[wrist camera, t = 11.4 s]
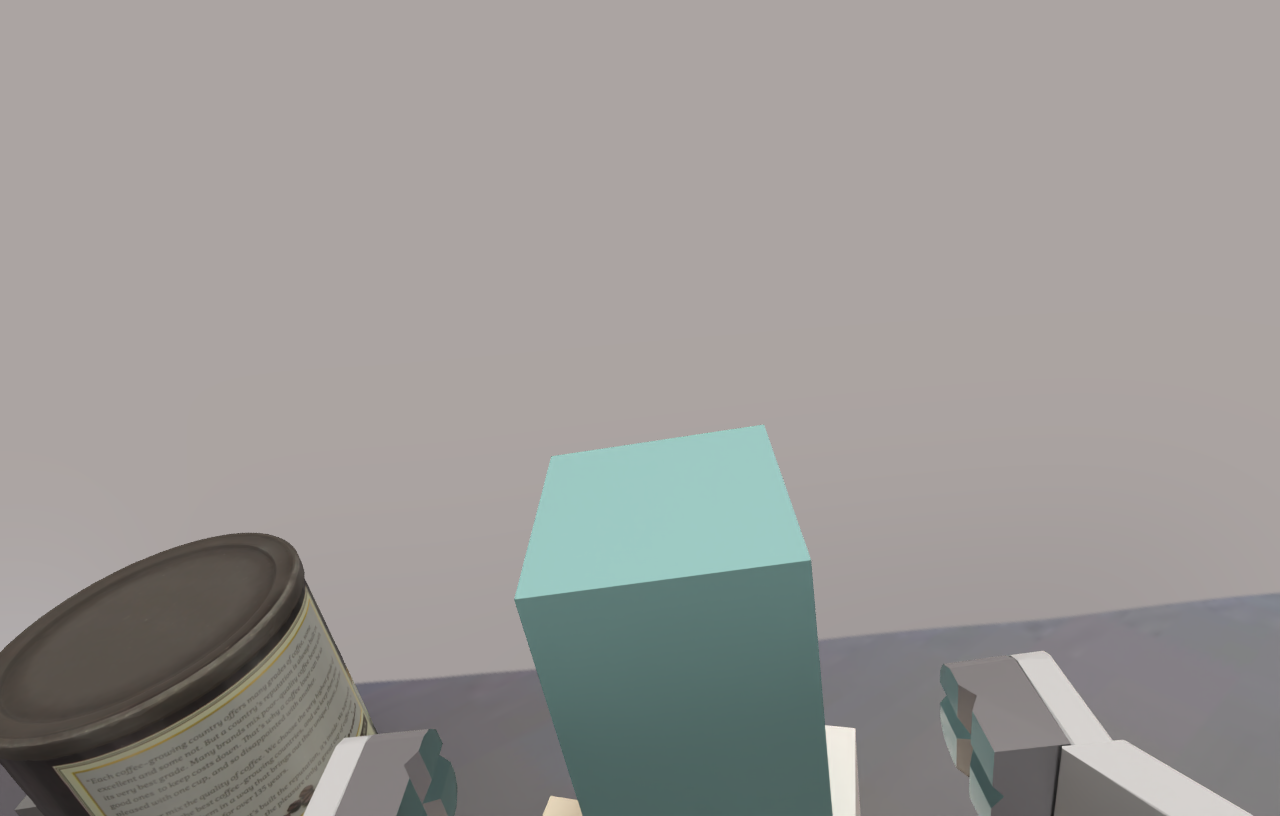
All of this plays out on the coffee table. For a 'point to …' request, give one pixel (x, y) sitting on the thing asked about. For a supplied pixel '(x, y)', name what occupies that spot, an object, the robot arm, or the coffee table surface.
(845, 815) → the white block
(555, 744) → the coffee table surface
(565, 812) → the birch board
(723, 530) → the teal block
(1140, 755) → the robot arm
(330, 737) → the coffee can
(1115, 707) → the coffee table surface
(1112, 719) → the coffee table surface
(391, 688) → the coffee table surface
